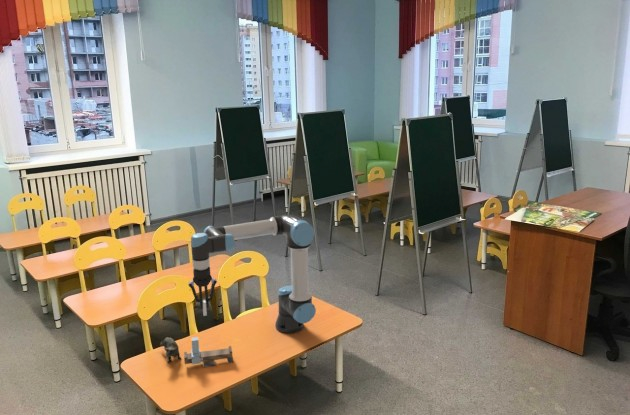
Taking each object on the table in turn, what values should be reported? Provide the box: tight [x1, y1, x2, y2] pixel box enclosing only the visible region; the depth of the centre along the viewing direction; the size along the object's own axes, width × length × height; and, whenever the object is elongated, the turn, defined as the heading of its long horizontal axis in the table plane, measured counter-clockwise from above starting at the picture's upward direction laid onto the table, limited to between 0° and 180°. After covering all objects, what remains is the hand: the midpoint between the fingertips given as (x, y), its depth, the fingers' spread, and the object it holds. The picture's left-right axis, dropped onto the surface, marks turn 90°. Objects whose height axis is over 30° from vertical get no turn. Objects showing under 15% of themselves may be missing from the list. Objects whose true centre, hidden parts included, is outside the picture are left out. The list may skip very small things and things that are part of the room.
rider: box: [190, 336, 202, 365], centre depth 234 cm, size 4×8×11 cm, turn 15°
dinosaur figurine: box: [159, 336, 182, 364], centre depth 241 cm, size 22×8×11 cm, turn 23°
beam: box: [183, 345, 234, 368], centre depth 237 cm, size 22×5×6 cm, turn 105°
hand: (205, 314), depth 233 cm, fingers closed
